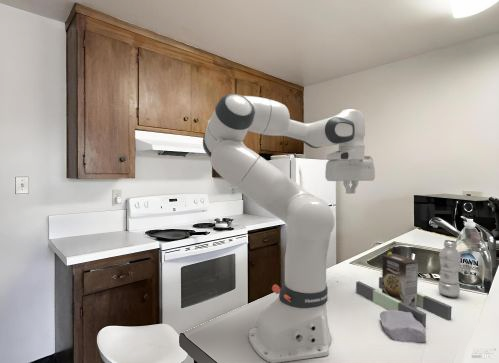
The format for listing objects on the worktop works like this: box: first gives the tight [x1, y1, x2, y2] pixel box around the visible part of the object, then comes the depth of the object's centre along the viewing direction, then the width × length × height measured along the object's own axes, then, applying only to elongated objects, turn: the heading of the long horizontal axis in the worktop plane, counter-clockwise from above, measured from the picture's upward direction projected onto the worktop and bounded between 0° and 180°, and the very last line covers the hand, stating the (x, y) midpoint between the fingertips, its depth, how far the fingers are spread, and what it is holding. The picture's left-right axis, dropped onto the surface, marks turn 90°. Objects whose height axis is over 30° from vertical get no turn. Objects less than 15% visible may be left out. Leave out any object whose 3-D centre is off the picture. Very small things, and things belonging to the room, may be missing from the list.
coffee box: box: [381, 253, 419, 309], centre depth 96 cm, size 9×6×16 cm
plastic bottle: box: [437, 239, 462, 298], centre depth 103 cm, size 6×7×20 cm
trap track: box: [355, 276, 453, 329], centre depth 96 cm, size 13×26×4 cm, turn 23°
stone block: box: [379, 309, 427, 343], centre depth 81 cm, size 12×5×10 cm
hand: (350, 193), depth 103 cm, fingers closed
